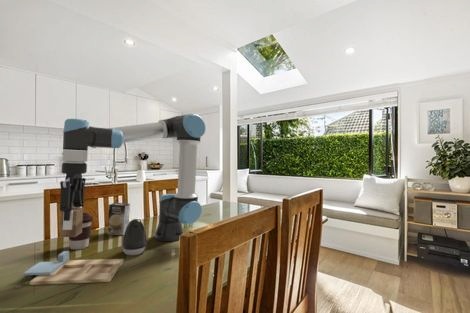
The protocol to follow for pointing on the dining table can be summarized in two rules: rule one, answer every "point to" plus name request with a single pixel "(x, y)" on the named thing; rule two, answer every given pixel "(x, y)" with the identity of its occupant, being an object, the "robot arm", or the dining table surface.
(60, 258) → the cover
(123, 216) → the coffee box
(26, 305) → the dining table surface
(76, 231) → the block
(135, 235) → the dark grey rounded dome
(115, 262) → the board
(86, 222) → the coffee cup
